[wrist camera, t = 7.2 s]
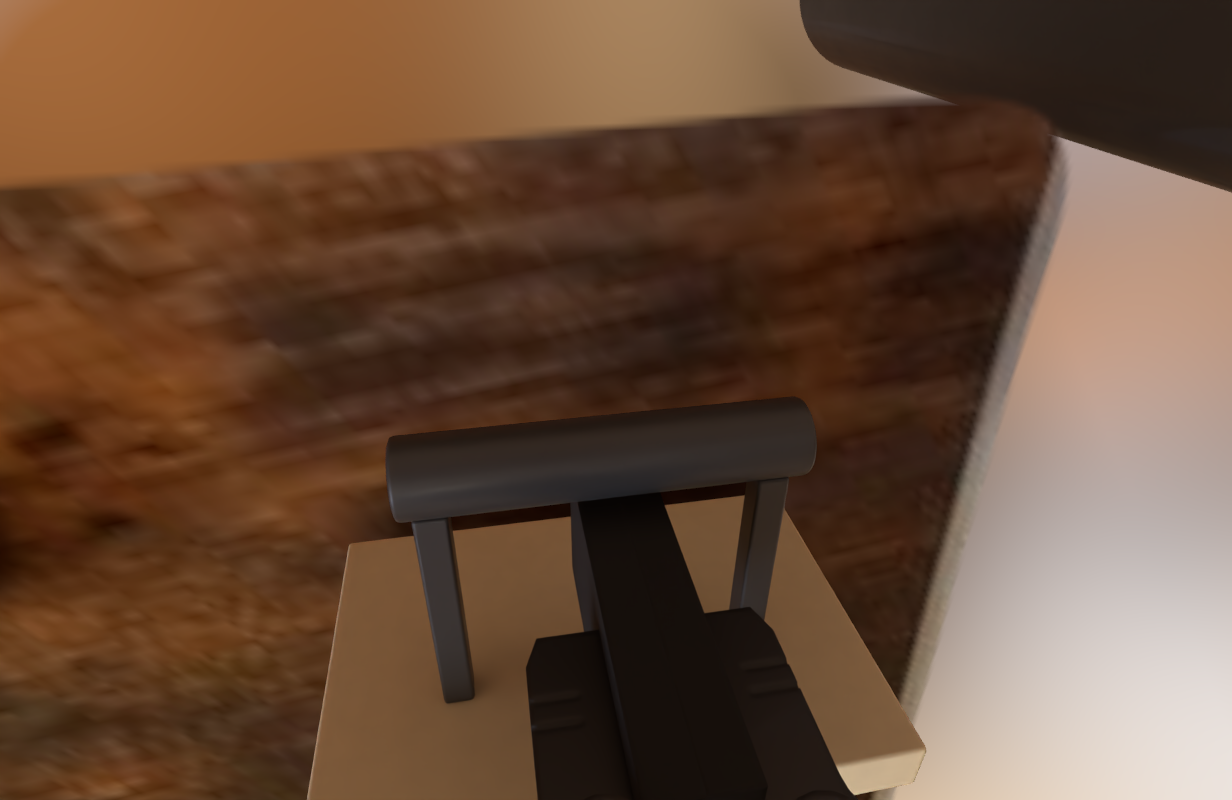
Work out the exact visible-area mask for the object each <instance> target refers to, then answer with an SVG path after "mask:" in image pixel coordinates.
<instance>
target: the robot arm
mask: <svg viewBox="0 0 1232 800" xmlns="http://www.w3.org/2000/svg"><path fill="white" fill-rule="evenodd" d="M570 506H571V541H572V569H573V574H574V580H575V585H576V591H577V596H578V601H579V607H580V612H581V618H582V623H583V629H584V632H579V633H572V634H565V635H558V636H551V637H544V638H536V641H535V643H534V646H533V649H532V652H531V654H530V657H529V660H528V663H527V666H526V678H527V690H528V702H529V713H530V725H531V736H532V747H533V757H534V768H535V779H536V789H537V800H858V799H857V798H856V797H855V795H854V794H853V793H852V792H851V791H850V790H849V789H848V787H847V785H846V784H845V782H844V780H843V779H842V777H841V775H840V773H839V771H838V769H837V767H836V765H835V762H834V760H833V758H832V756H831V754H830V752H829V749H828V747H827V745H826V743H825V741H824V739H823V736H822V734H821V732H820V730H819V728H818V726H817V723H816V721H815V719H814V717H813V715H812V713H811V710H810V708H809V706H808V704H807V702H806V700H805V697H804V695H803V693H802V691H801V689H800V688H799V687H798V685H797V680H796V678H795V676H794V673H793V671H792V669H791V667H790V665H789V664H787V658H786V656H785V654H784V652H783V650H782V647H781V645H780V643H779V641H778V639H777V637H776V634H775V632H774V630H773V629H772V628H771V627H770V626H769V625H768V624H767V623H766V622H765V621H764V620H763V619H762V618H761V617H760V616H759V615H758V614H757V613H756V612H755V611H754V610H753V609H752V608H751V607H745V608H738V609H730V610H723V611H716V612H709V613H704V610H703V608H702V605H701V602H700V600H699V597H698V594H697V591H696V589H695V586H694V583H693V581H692V578H691V575H690V572H689V570H688V567H687V564H686V562H685V559H684V556H683V554H682V551H681V548H680V545H679V543H678V540H677V537H676V535H675V532H674V529H673V526H672V524H671V521H670V518H669V516H668V513H667V510H666V507H665V505H664V502H663V499H662V497H661V494H660V492H657V493H649V494H640V495H632V496H623V497H615V498H606V499H598V500H589V501H581V502H573V503H570Z"/></svg>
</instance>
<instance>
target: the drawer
mask: <svg viewBox="0 0 1232 800" xmlns="http://www.w3.org/2000/svg"><path fill="white" fill-rule="evenodd" d="M816 450H817V440H816V431H815V426H814V422H813V418H812V415H811V413H810V411H809V409H808V407H807V405H806V404H805V403H804V401H803V400H801V399H800V398H797V397H783V398H773V399H763V400H753V401H743V402H733V403H722V404H712V405H702V406H692V407H682V408H672V409H662V410H651V411H641V412H631V413H621V414H611V415H601V416H591V417H580V418H570V419H560V420H550V421H540V422H530V423H520V424H509V425H499V426H489V427H479V428H469V429H459V430H449V431H438V432H428V433H418V434H408V435H398V436H392V437H390V438H389V440H388V443H387V447H386V480H387V490H388V497H389V503H390V508H391V512H392V515H393V517H394V519H395V521H396V522H399V523H404V522H411V525H412V530H413V535H414V536H407V537H399V538H390V539H382V540H374V541H366V542H358V543H351V544H350V545H349V547H348V553H347V560H346V566H345V572H344V578H343V584H342V590H341V596H340V602H339V608H338V614H337V620H336V626H335V632H334V638H333V645H332V651H331V657H330V663H329V669H328V675H327V681H326V687H325V693H324V699H323V705H322V711H321V717H320V723H319V730H318V736H317V742H316V748H315V754H314V760H313V766H312V772H311V778H310V784H309V790H308V796H307V800H537V789H536V779H535V768H534V757H533V747H532V736H531V725H530V713H529V702H528V690H527V678H526V666H527V663H528V660H529V657H530V654H531V652H532V649H533V646H534V643H535V641H536V638H544V637H551V636H558V635H565V634H572V633H579V632H584V629H583V623H582V618H581V612H580V607H579V601H578V596H577V591H576V585H575V580H574V574H573V569H572V541H571V517H563V518H555V519H547V520H538V521H530V522H522V523H514V524H506V525H497V526H489V527H481V528H473V529H464V530H456V531H453V529H452V522H451V517H454V516H463V515H471V514H480V513H488V512H496V511H505V510H513V509H522V508H530V507H539V506H547V505H556V504H564V503H573V502H581V501H589V500H598V499H606V498H615V497H623V496H632V495H640V494H649V493H657V492H665V491H674V490H682V489H691V488H699V487H708V486H716V485H725V484H733V483H741V482H746V489H745V495H744V496H736V497H727V498H719V499H711V500H703V501H695V502H686V503H678V504H670V505H665V507H666V510H667V513H668V516H669V518H670V521H671V524H672V526H673V529H674V532H675V535H676V537H677V540H678V543H679V545H680V548H681V551H682V554H683V556H684V559H685V562H686V564H687V567H688V570H689V572H690V575H691V578H692V581H693V583H694V586H695V589H696V591H697V594H698V597H699V600H700V602H701V605H702V608H703V610H704V613H709V612H716V611H723V610H730V609H738V608H745V607H751V608H752V609H753V610H754V611H755V612H756V613H757V614H758V615H759V616H760V617H761V618H762V619H763V620H764V621H765V622H766V623H767V624H768V625H769V626H770V627H771V628H772V629H773V630H774V632H775V634H776V637H777V639H778V641H779V643H780V645H781V647H782V650H783V652H784V654H785V656H786V658H787V664H789V665H790V667H791V669H792V671H793V673H794V676H795V678H796V680H797V685H798V687H799V688H800V689H801V691H802V693H803V695H804V697H805V700H806V702H807V704H808V706H809V708H810V710H811V713H812V715H813V717H814V719H815V721H816V723H817V726H818V728H819V730H820V732H821V734H822V736H823V739H824V741H825V743H826V745H827V747H828V749H829V752H830V754H831V756H832V758H833V760H834V762H835V765H836V767H837V769H838V771H839V773H840V775H841V777H842V779H843V780H844V782H845V784H846V785H847V787H848V789H849V790H850V791H851V792H852V793H853V794H854V795H857V794H862V793H867V792H872V791H877V790H882V789H887V788H892V787H897V786H902V785H907V784H911V783H912V782H914V780H915V777H916V775H917V773H918V770H919V768H920V765H921V763H922V760H923V758H924V756H925V753H926V748H925V745H924V743H923V742H922V740H921V739H920V737H919V735H918V733H917V732H916V730H915V728H914V727H913V725H912V723H911V721H910V720H909V718H908V716H907V715H906V713H905V711H904V710H903V708H902V706H901V705H900V703H899V701H898V700H897V698H896V696H895V694H894V693H893V691H892V689H891V688H890V686H889V684H888V683H887V681H886V679H885V678H884V676H883V674H882V673H881V671H880V669H879V667H878V666H877V664H876V662H875V661H874V659H873V657H872V656H871V654H870V652H869V651H868V649H867V647H866V646H865V644H864V642H863V640H862V639H861V637H860V635H859V634H858V632H857V630H856V629H855V627H854V625H853V624H852V622H851V620H850V619H849V617H848V615H847V613H846V612H845V610H844V608H843V607H842V605H841V603H840V602H839V600H838V598H837V597H836V595H835V593H834V592H833V590H832V588H831V586H830V585H829V583H828V581H827V580H826V578H825V576H824V575H823V573H822V571H821V570H820V568H819V566H818V565H817V563H816V561H815V559H814V558H813V556H812V554H811V553H810V551H809V549H808V548H807V546H806V544H805V543H804V541H803V539H802V538H801V536H800V534H799V533H798V531H797V529H796V527H795V526H794V524H793V522H792V521H791V519H790V517H789V516H788V514H787V512H786V511H785V509H784V506H785V500H786V495H787V489H788V483H789V478H788V477H792V476H801V475H805V474H807V473H808V472H809V471H810V470H811V469H812V467H813V465H814V462H815V458H816Z"/></svg>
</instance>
